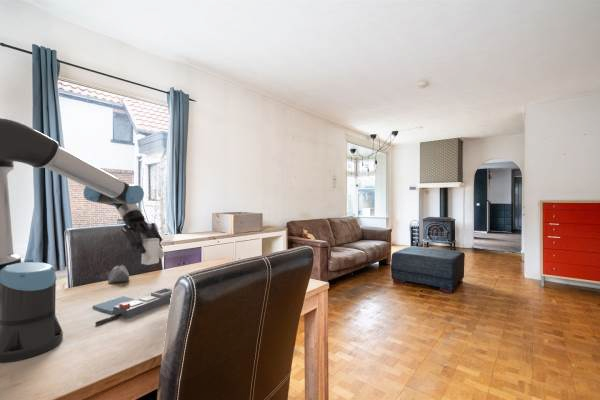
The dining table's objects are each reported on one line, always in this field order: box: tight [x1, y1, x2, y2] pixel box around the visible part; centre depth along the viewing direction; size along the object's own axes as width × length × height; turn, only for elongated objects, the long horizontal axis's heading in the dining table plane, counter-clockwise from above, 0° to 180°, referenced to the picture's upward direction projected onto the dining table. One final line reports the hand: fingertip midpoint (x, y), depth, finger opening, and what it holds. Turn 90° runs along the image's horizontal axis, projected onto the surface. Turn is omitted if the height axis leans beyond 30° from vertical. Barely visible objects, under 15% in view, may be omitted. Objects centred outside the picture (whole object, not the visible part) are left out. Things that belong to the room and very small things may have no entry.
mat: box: [92, 296, 136, 315], centre depth 114 cm, size 12×12×1 cm
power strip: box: [95, 287, 173, 326], centre depth 111 cm, size 32×8×4 cm, turn 154°
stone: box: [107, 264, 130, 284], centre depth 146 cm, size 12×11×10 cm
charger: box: [140, 238, 160, 266], centre depth 118 cm, size 5×4×10 cm
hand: (156, 257), depth 117 cm, fingers closed on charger, 5 cm apart
